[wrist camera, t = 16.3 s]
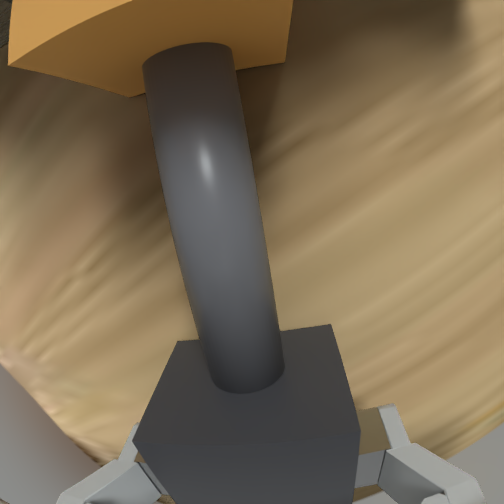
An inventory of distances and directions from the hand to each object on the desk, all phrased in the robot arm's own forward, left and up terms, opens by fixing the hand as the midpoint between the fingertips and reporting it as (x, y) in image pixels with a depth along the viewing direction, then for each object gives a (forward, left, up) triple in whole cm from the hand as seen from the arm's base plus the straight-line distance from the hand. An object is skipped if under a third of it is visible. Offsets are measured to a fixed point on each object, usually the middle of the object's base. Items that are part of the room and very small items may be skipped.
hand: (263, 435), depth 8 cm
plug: (0, -5, -2) cm, 6 cm away
